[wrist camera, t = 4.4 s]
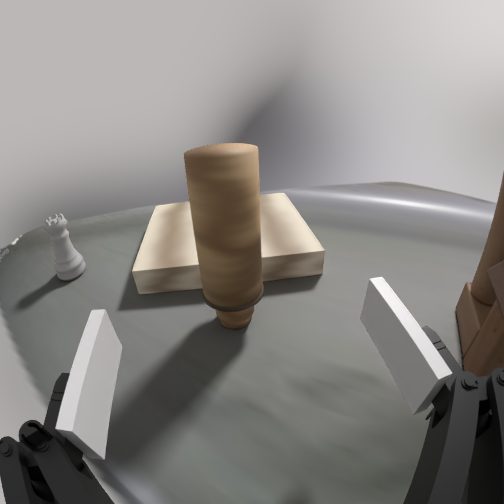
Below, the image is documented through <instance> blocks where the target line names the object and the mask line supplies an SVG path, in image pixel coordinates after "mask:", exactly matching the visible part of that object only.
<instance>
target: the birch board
mask: <svg viewBox="0 0 504 504" xmlns="http://www.w3.org/2000/svg"><path fill="white" fill-rule="evenodd" d="M260 222H261V255H262V282H264V281H272V280H280V279H288V278H296V277H304V276H311V275H319V274H322V272H323V262H324V252H325V250H324V249H323V247H322V246H321V244H320V243H319V241H318V240H317V238H316V237H315V236H314V234H313V233H312V231H311V230H310V228H309V227H308V225H307V224H306V223H305V221H304V220H303V218H302V217H301V216H300V214H299V213H298V211H297V210H296V208H295V207H294V206H293V204H292V203H291V201H290V200H289V199H288V197H287V196H286V195H285V193H276V194H263V195H260ZM132 273H133V277H134V280H135V283H136V286H137V290H138V293H139V294H150V293H161V292H172V291H182V290H192V289H202V288H203V287H202V282H201V276H200V269H199V263H198V257H197V251H196V244H195V237H194V230H193V223H192V216H191V209H190V202H183V203H175V204H167V205H159V206H156V207H155V210H154V212H153V215H152V217H151V220H150V223H149V225H148V228H147V230H146V233H145V236H144V238H143V241H142V244H141V247H140V249H139V252H138V255H137V258H136V261H135V264H134V267H133V270H132Z"/></svg>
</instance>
